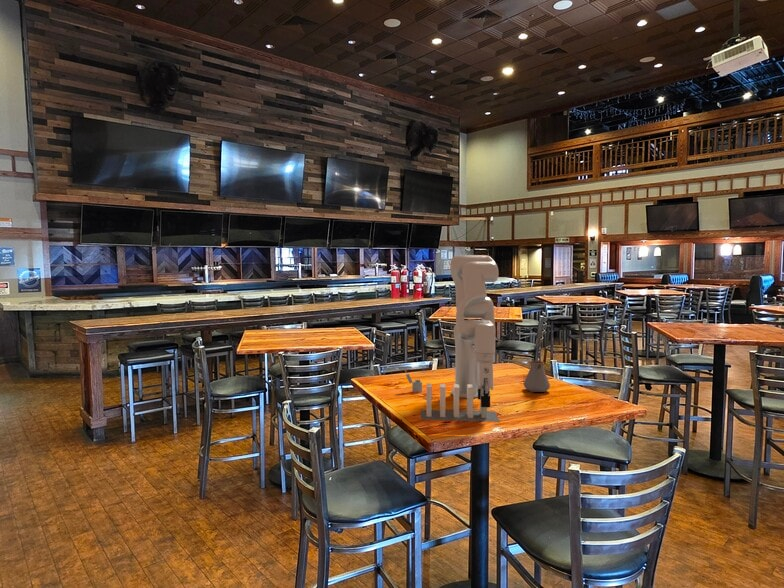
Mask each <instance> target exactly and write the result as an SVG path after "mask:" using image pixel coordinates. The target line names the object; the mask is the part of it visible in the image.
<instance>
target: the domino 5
mask: <svg viewBox="0 0 784 588" xmlns="http://www.w3.org/2000/svg"><path fill="white" fill-rule="evenodd" d="M483 392H484V390H483ZM481 396H482V390H481ZM479 401H480V402H479V403H480V410H479V411H480V414H481V417H482V418H487V411H488V407H481V400H479Z"/></svg>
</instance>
